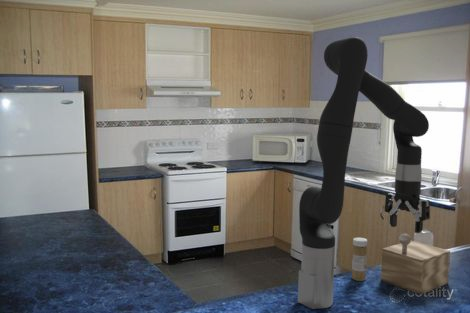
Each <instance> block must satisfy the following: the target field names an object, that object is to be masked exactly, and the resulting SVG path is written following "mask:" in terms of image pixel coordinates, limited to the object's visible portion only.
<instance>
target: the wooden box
mask: <svg viewBox="0 0 470 313" xmlns="http://www.w3.org/2000/svg"><path fill="white" fill-rule="evenodd" d="M381 253H382V254H381V271H380V275H381V276H380V281H381V282H384V283H387V284H389V285H392V286H395V287H398V288H401V289H404V290H406V291H409V292H411V293H415V294H417V295H423V294H425V293H427V292H430V291H433V290H435V289H437V288H440V287H442V286H444V285H447V284H449V276H450V274H449V273H450V262H451V261H450V260H451V252H450V253H448V254H445V255H442V256H439V257H436V258H433V259H430V260H427V261H424V262H419V261H416V260H413V259H409V258H406V257H403V256H400V255H396V254H393V253H390V252H386V251H383V250H382V252H381Z"/></svg>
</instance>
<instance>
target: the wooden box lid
mask: <svg viewBox="0 0 470 313" xmlns="http://www.w3.org/2000/svg"><path fill="white" fill-rule="evenodd" d="M398 241H399V243H398V244H397V243H396V244H394V245H391V246H390V245H389V246H386V247H383V248H381V249H382V251H386V252H390V253H393V254H396V255H400V256H403V257H406V258H409V259H413V260H416V261H419V262H424V261H427V260H430V259H433V258H436V257H439V256H442V255H445V254H448V253H450V254H451V250H448V249H445V248H440V247H437V246H434V245H433V246H430V245H426V244H422V243H419V242H415V241H414V240H412V237H411V235H410V234H408V233H402V234H400V235H399V237H398Z"/></svg>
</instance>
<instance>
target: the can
mask: <svg viewBox="0 0 470 313" xmlns="http://www.w3.org/2000/svg"><path fill="white" fill-rule="evenodd" d="M413 241H415V242H419V243H422V244H426V245H430V246H434V233H433V230H431V229H427V228H423V230H422V231H421V232H420V233H415V232H414V236H413Z"/></svg>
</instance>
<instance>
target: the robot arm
mask: <svg viewBox="0 0 470 313" xmlns="http://www.w3.org/2000/svg"><path fill="white" fill-rule="evenodd" d="M368 56H369V55H368V48H367V44H366V43H365V40H363V39H362V38H361V37H356V36H353V37H347V38H343V39H338V40H335V41H333V42H331V43H329V44H328V45H326V48H325V50H324V52H323V59H324V64H325V65H326V67H327V68H328V69H329V70H330V71H331V72H332V73H334V74H335V75H337V77H336V78H337V79H336V84H335V87H334V90H333V92H332V94H331V96H330V98H329V100H328V101H327V102H326V105H325V107H324V108H323V110H322V112H321V115H320V118H319V121H318V123H319V124H318V129H317V135H316V144H317V149H318V153H319V157H320V160H321V165H322V170H323V173H322V174H323V175H322V176H323V177H322V183H321V187H319V186H310V187H307V188H306V189H305V190H304V191H303V192H302V194H301V196H300V199H299V205H298V206H299V208H298V210H299V211H298V213H299V214H298V215H299V220H298V221H299V234H300V236H301V269H300V270H298V282H297V283H298V284H297V285H298V287H297V303H299V304H301V305H303V306H305V307H308V308H309V309H311V310H315V309H327V308H330V307H332V306H333V304H334V303H333V302H334V283H335V282H334V281H335V280H334V279H335V278H334V277H335V254H336V253H335V252H336V236H335V234H334V232H332V231H331V230H330V228H329V227H328V225H332V224H335V223H336V222H337V221H338V220H339V218H340V216H341V214H342V211H343V207H344V201H345V199H344V196H345V185H346V182H345V181H346V170H347V163H348V156H349V152H350V151H349V150H350V144H351V139H352V136H353V135H352V134H353V128H354V127H353V126H354V120H355V113H356V109H357V103H358V99H359V98H358V96H359V93H361V94H362V95H363V96H364V97H366V99H368V101H370V102H371V103H372V104H373V105H374V106H375V107H376V108H377V110H378V111H380V112H381V113H382V114H383V115H384V116H385V117H386V118H388V119H389V120H393V125H392V132H393V136H394V140H395V145H396V149H397V152H396V153H397V156H396V167H395V175H394V176H395V177H394V192H395V193H391V192H390V193H386V195H385V203H384V212H385V213H388V214H389V225H390V227H391V228H396V227H397V225H398V213H399V212H400V211H405V212H410V213H411V215H412V216H413V217H414V218H415V219H414V220H415V225H414V226H415V227H414V234H415V233H420V232H421V231H422V230H423V229H424V228H423V227H424V226H423V225H424V222H425V221H427V220H428V221H429V220H430V219H431V212H430V211H431V209H430V208H431V201H430V200H429V199H421V197H420V195H421V190H422V189H421V188H422V171H423V170H422V154H423V149H422V147H421V146H420V145H419V144H416V143H415V141H414V137H415V138H420V137H422V136H424V135H426V133H428V131H429V129H430V127H429V126H430V124H429V120H428V118H427V116H426V114H424V112H422V111H421V110H419V108H416V107H415V106H413V105H412V104H410V103H409V102H407V101H405V99H404V98H403V97H402V96H401V95H400V94H399V93H398V92H397V91H396V90H395V89H394V88H393V87H392V86H391V85H390V84H388V83H387V82H385V81H384V80H382V79H380V78H378V77H377V76H375V75H373V74H372V73H370V72H369V71H368V70H366V67H367V63H368ZM394 202H395V204H394ZM419 205H420V206H419ZM420 207H421V208H420Z"/></svg>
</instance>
